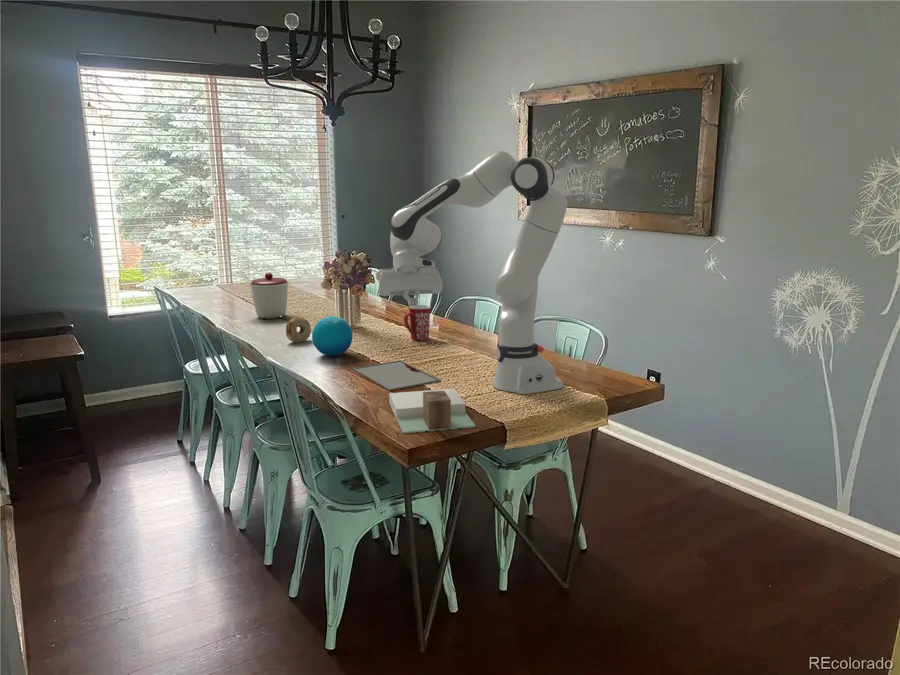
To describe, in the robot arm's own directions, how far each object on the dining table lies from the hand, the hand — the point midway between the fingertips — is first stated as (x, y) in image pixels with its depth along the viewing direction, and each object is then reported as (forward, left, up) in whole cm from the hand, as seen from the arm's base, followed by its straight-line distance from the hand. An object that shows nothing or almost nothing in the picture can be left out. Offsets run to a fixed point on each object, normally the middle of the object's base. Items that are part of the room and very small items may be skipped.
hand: (413, 304), depth 211 cm
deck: (0, +19, -27) cm, 33 cm away
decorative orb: (+23, -45, -28) cm, 57 cm away
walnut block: (0, +29, -23) cm, 37 cm away
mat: (0, +32, -27) cm, 42 cm away
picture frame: (+4, -15, -28) cm, 32 cm away
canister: (+47, -120, -28) cm, 132 cm away
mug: (-12, -62, -28) cm, 69 cm away
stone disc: (+35, -69, -28) cm, 82 cm away
